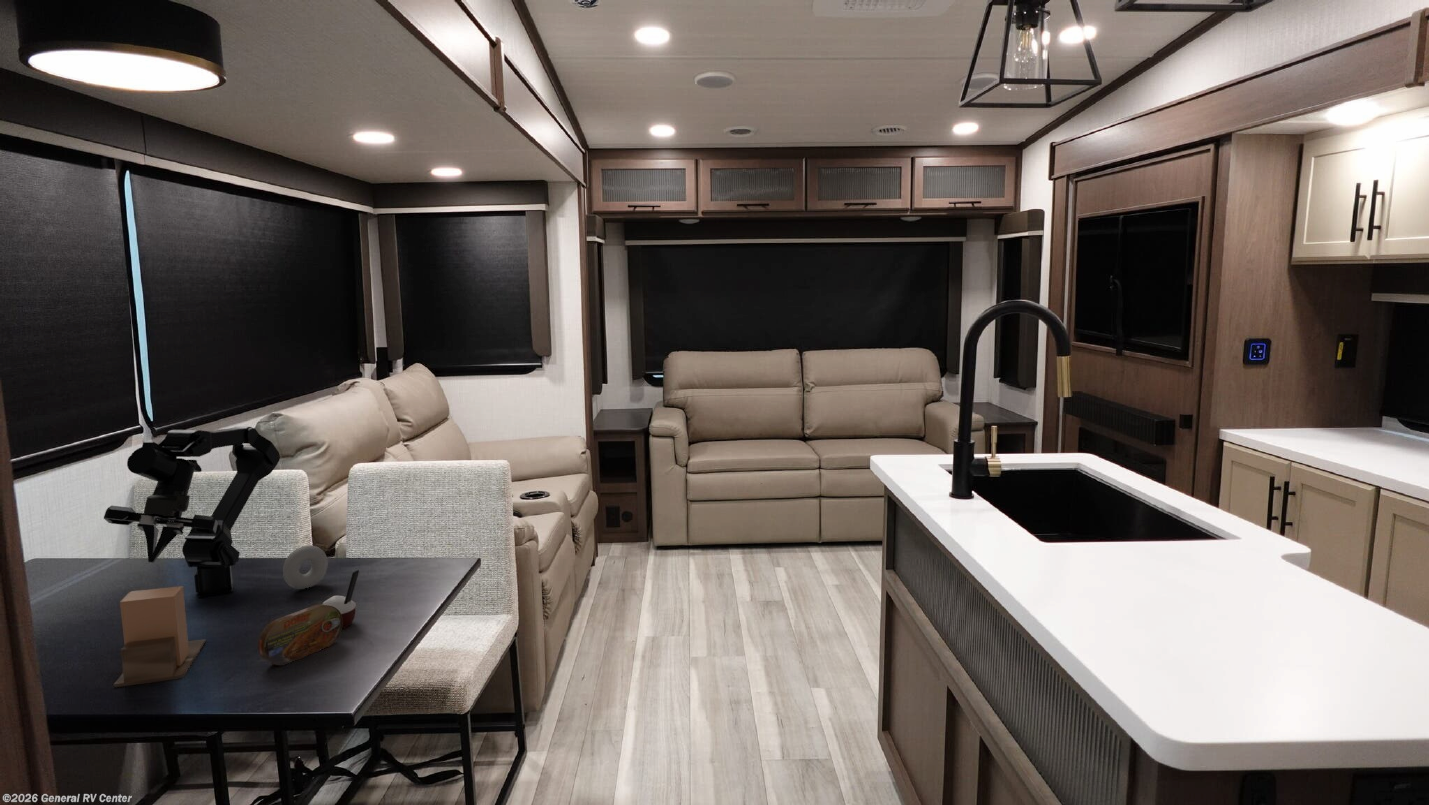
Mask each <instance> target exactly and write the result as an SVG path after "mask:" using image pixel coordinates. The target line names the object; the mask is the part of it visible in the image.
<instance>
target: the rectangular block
mask: <svg viewBox="0 0 1429 805" xmlns="http://www.w3.org/2000/svg"><path fill="white" fill-rule="evenodd" d="M119 606H120V614H121V615H120V616H121V625H122V634H123V642H124V645H123V646H125V644H126V643H127V642H134V641H143V640H151V639H159V638H167V637H175V647H176V658H177V666H180V665H182V663H183V662H184V660H185V659H186V657H187V656H188V654H189V645H188V641H189V635H188V626H187V615H186V605H185V593H184V586H183V585H181V586H179V585H178V586H171V587H160V588H159V587H158V588H151V589H150V588H149V589H142V590H140V589H139V590H132V591H129V592H128V593H127V594H126V595H125V596H124V597H123V598H122V599H121V600H120V601H119Z"/></svg>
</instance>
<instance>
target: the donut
mask: <svg viewBox="0 0 1429 805" xmlns="http://www.w3.org/2000/svg"><path fill="white" fill-rule="evenodd" d="M306 561H309V562H310V563H311V566H310V568H309V571H307V572H306V573H301V572H300V568H301V566H302V564H304V562H306ZM328 564H329V561H328V558H327V555H326V553H325V551H324V550H323V549H321V548H320V547H318V546H316V545H311V544H310V545H302V546H301V547H298V548H295V549H294V550H293V551H292V552H291V553H289V555H288V556H287V558H286V559H285V560H284V563H283V566H282V575H283V579H284V582H286V584H287V585H288V586H290V587H291V588H292V589H296V590H306V589H305V588H307V589H309V587H310V588H312V587H314V586H316V585H317V584H318V583H320V582H321V581H322V579H323V578H324V577H325V574H326V573H327V570H328Z"/></svg>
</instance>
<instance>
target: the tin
mask: <svg viewBox="0 0 1429 805" xmlns="http://www.w3.org/2000/svg"><path fill="white" fill-rule="evenodd" d="M342 626H343V618H342V615H341V613H340V611H339V610H338V609H337V608H335V607H333V606H328V605H322V604H319V603H318V604H314V605H312V606H309V607H306V608H303V609H300V610H297V611H295V612H292V613H289V614H287V615H284V616H280V617H279V618H276V619H274V620H272V621H271V622H269V623H268V624H267V625H266V626H265V627H264V628H263V630H262V631H261V633H260V635H259V637H258V651H259V654H260V657H262V659H264V660H266V661H267V662H269V663H271V664H273V665H275V666H286V665H285V664H287V663H289V664H291V663H290V662H291V661H294V662H296V661H295V660H297V659H299V658H301V659H303V657H304V656H306V657H308V656H307V655H309V654H311V655H313V654H315V653H314V652H316V653H317V651H318V652H320V651H319V650H320V649H323V650H325V649H327V648H326V647H328V648H329V647H331V646H333V644H334V643H335V642H336V641H337V640H338V639H339V637H340V635H341V633H342V630H343V629H342ZM324 648H325V649H324ZM312 653H313V654H312ZM309 656H310V655H309ZM304 658H305V657H304ZM299 660H300V659H299ZM297 661H298V660H297ZM287 665H288V664H287Z"/></svg>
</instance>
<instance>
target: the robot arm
mask: <svg viewBox="0 0 1429 805" xmlns="http://www.w3.org/2000/svg"><path fill="white" fill-rule="evenodd" d="M244 444H248V445H244ZM230 446H232V450H231V451H232V452H231V453H232V455H233V456H234V457H235V462H234V463H235V467H236V473H235V475H234V477H233V479H232V480H231V482H230V484H229V485H228V487H227V489H226V490H225V491H224V494H223V495H222V497H221V498H220V500H219V502H218V504H217V505H216V507H215V509H214V511H213V512H212V514H211V516H210V515H205V514H204V515H202V514H201V515H200V514H194V515H193V517H192V518H191V517H184V516H183V517H182V515H183V513H185V512H186V511H187V510H188V508H189V503H190V495H188V494H189V491H190V487H191V484H192V480H193V476H194V473H201V472H202V471H203V470H202V467H201V465H200V464H199V463H198V460H197V459H185V458H191V457H192V458H193V457H194V458H199V457H202V456H205V455H208V454H209V453H211V452H212V450H214V449H219V448H225V447H230ZM280 457H281V456H280V452H279V450H278V449H277V448H276V446H275V445H274V444H273V442H272V441H270V440H269V439H268V438H266V437H264V436H263V435H261V434H260V433H259V432H258V431H257V429H256V428H254V427H252V426H233V427H231V428H221V429H215V430H199V429H170V430H168V431H167V432H166V435H165V436H164V437H163V438H162V439H160V441H158V442H154V441H143V443H142V446H141V447H139V448H137V449H136V450H134V451H133V452H132V453H131V454H130V456H128V458H127V460H126V461H127V462H126V467H127V469H128V470H129V471H130V472H131V473H133V474H135V475H138V476H141V477H142V478H146V479H149V480H151V481H154V482H156V484H155V488H154V490H153V493H152V494H151V495H149V496H147V497H146V501H145V505H144V508H143V509H144V510H143V512H136V511H135V510H134V509H133V508H132V507H129V506H128V507H127V506H119V505H110V506H109V507H107V509H106V510H105V512H104V515H103V520H105V521H106V522H107V523H108V524H111V525H112V524H113V525H121V526H130V525H131V524H133V523H137V528H138V529H139V530H140V531H142V532H143V533H144V536H145V540H146V550H147V560H148V561H147V562H148V563H155V562H156V561H157V559H158V557H160V556H161V554H162V552H163V551H164V549H166V548H167V546H168V545H169V544H170V543H171V542H172V541H173V540H174V539H175V538H176V536H177V535H178V536H181V535H184V532H183V531H184V529H185V528H190V531H189V533H188V534H187V535H186V536H185V537H184V540H185V541H184V543H183V545H182V548H181V551H182V554H183V558H184V559H185V560H184V561H186V562H185V563H186V564H187V567H188V568H196V571H195V573H194V575H193V576H194V588H195V593H197V597H198V598H202V597H210V596H215V595H217V596H218V595H222V594H223V595H224V594H229V593H232V592H233V590H234V581H233V573H232V567H233V566H235V565H236V563H238V562H239V558H240V551H239V550H237V549H236V548H235V547H234V546H233V536H232V532H231V531H232V529H233V526H234V525H235V524H236V522H237V520H238V518H239V516H240V514H241V513H242V511H243V509H244V508H245V505H246V504H247V502H248V501H249V498H250V497H251V495H252V493H253V492H254V490H255V488H256V486H257V485H258V483H259V481H261V480H262V479H264V478H265V477H267V476H269V475H271V473H272V472H273V471H274V469H275V468H276V467H277V466H278V464H279V462H280V459H281V458H280ZM159 525H163V526H162V527H161V528H162V529H161V532H160V536H159V531H160V530H159V528H158V526H159ZM158 538H159V539H158Z"/></svg>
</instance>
